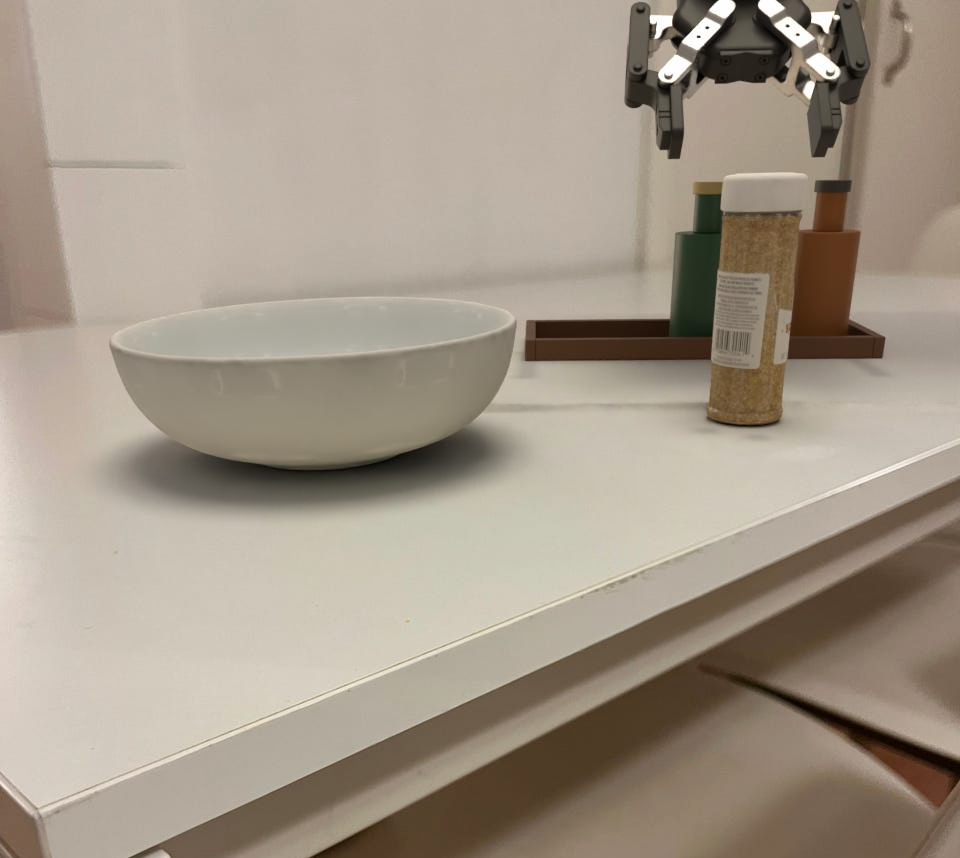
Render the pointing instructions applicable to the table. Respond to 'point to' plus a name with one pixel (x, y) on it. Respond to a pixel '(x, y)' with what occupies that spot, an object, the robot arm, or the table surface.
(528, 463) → the table surface
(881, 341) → the tray
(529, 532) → the table surface
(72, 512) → the table surface
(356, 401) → the serving bowl
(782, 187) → the sprinkles bottle
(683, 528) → the table surface
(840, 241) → the amber bottle
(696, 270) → the green bottle
